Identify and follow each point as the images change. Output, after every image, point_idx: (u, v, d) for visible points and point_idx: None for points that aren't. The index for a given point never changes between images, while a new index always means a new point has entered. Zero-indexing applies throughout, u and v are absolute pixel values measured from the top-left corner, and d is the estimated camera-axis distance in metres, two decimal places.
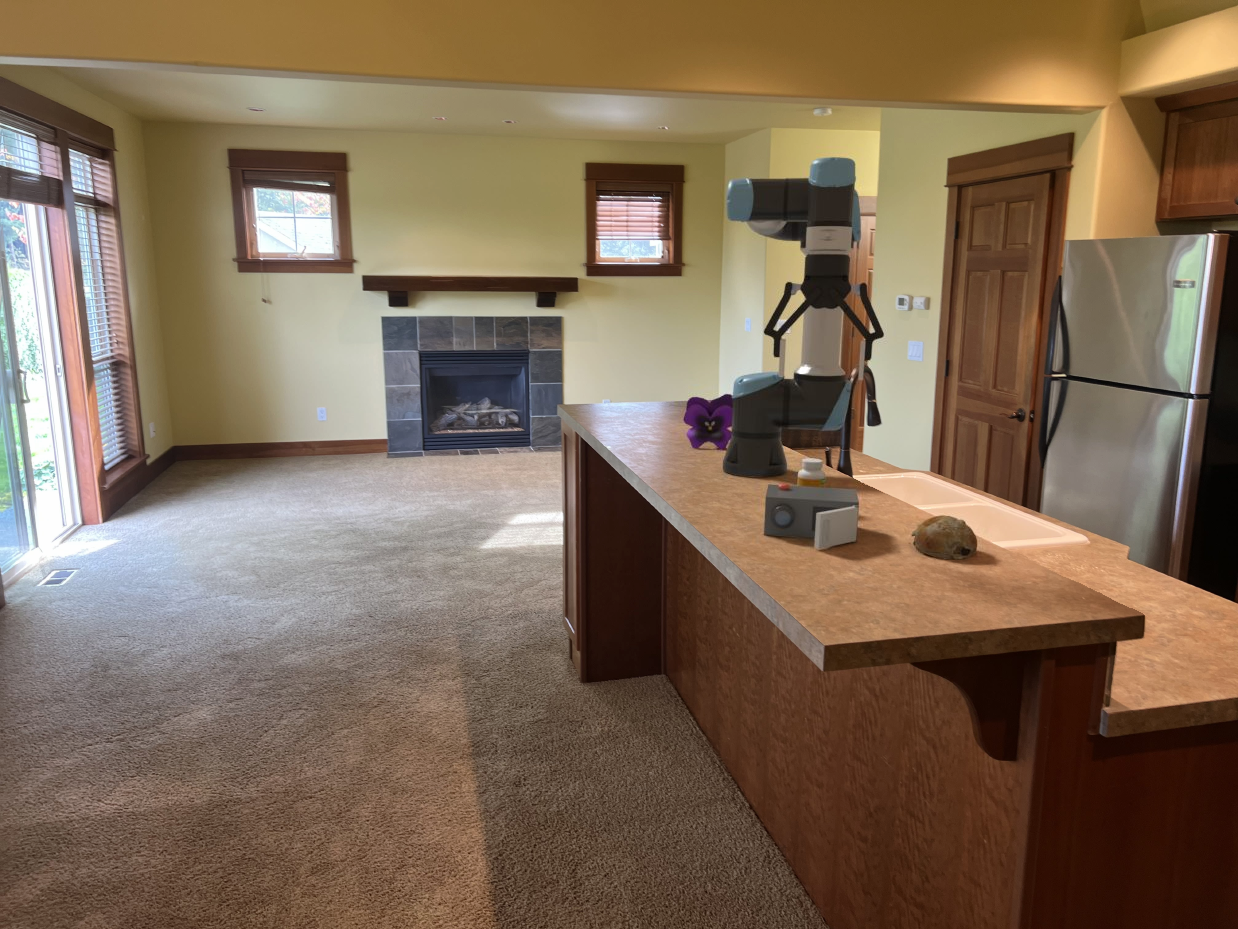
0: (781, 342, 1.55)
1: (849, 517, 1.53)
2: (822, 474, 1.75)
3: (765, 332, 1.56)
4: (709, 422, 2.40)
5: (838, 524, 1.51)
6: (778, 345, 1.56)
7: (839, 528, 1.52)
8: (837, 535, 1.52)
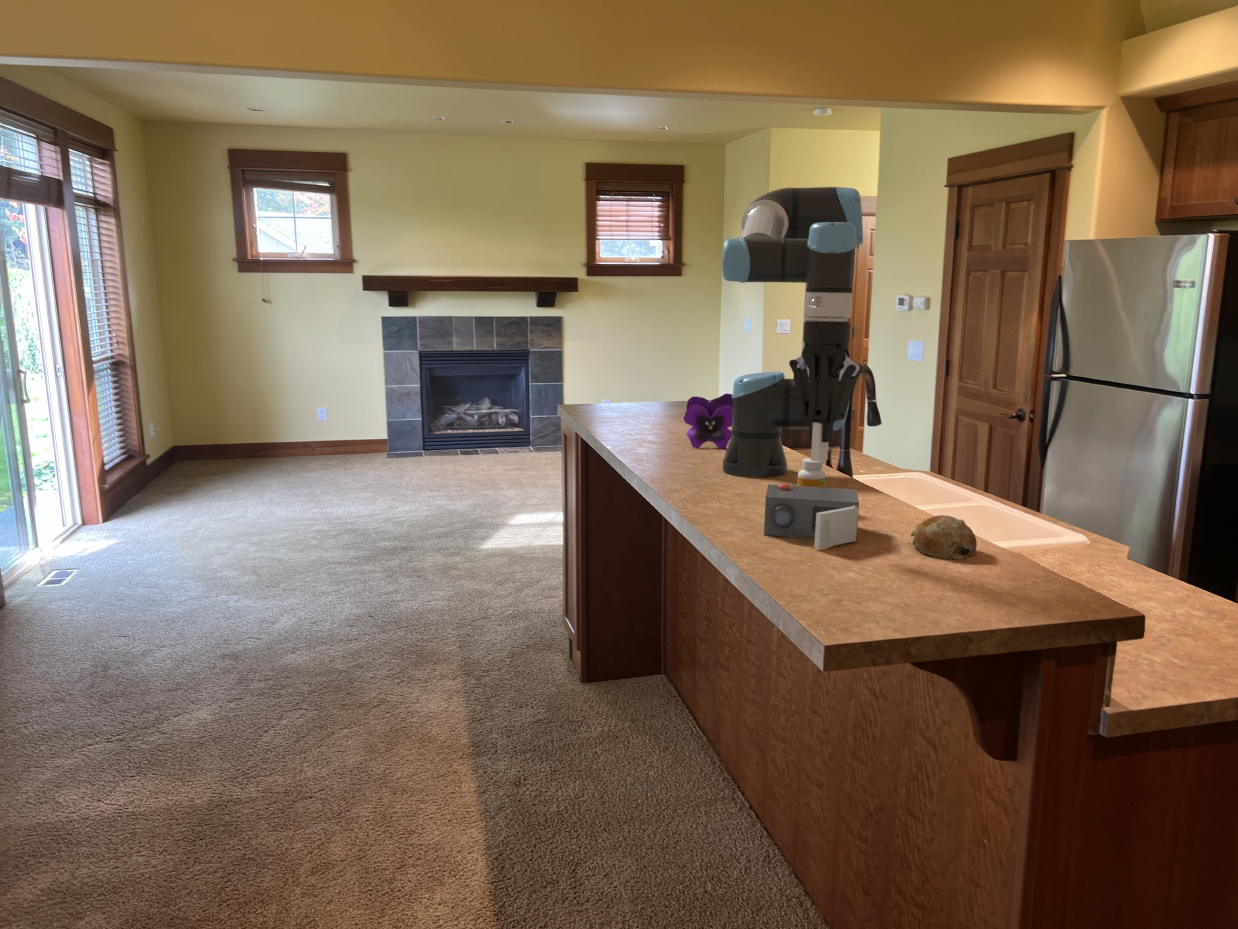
0: (813, 425, 1.49)
1: (849, 517, 1.53)
2: (822, 474, 1.75)
3: (801, 414, 1.51)
4: (709, 422, 2.41)
5: (838, 524, 1.51)
6: (813, 428, 1.50)
7: (839, 528, 1.52)
8: (837, 535, 1.52)
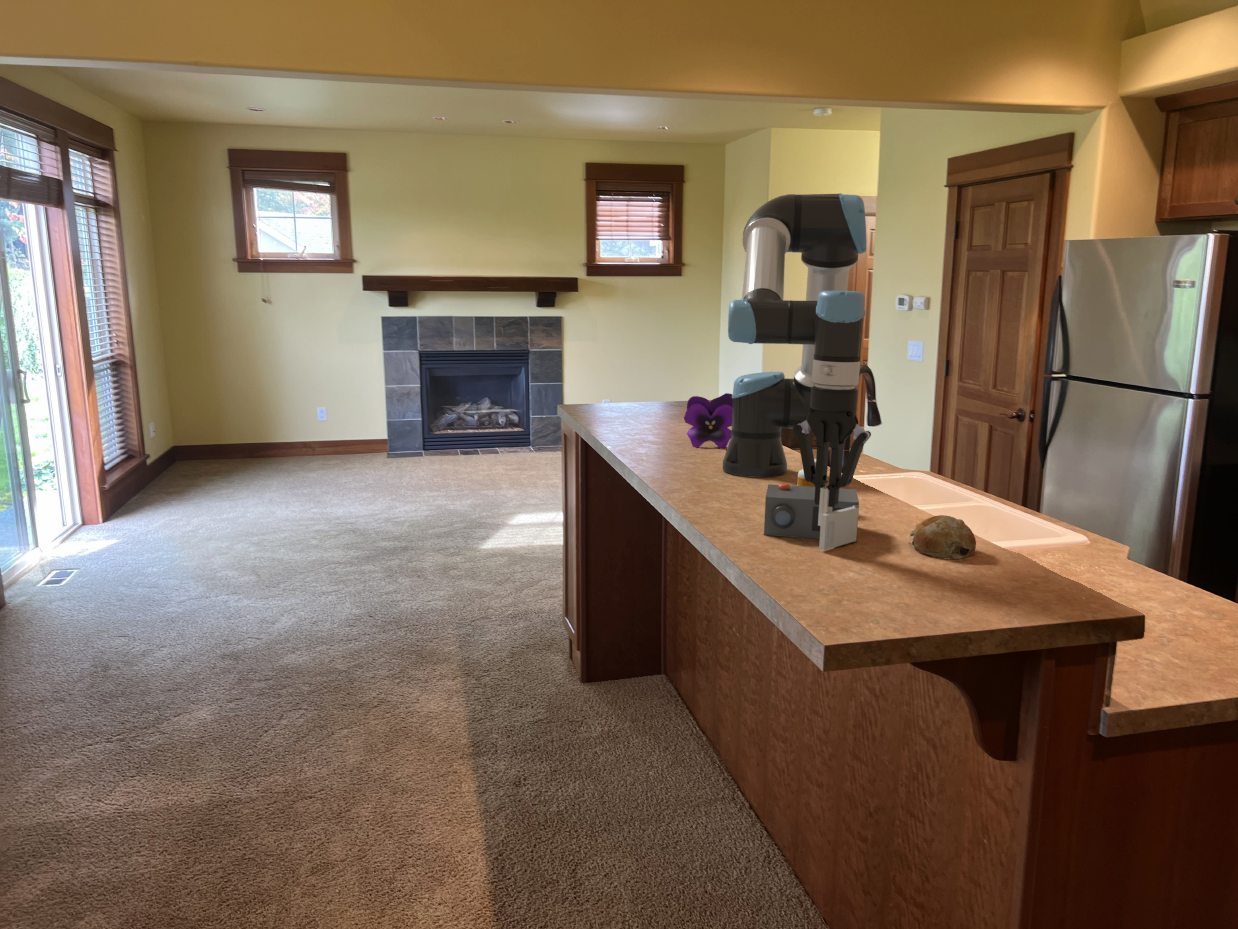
0: (821, 491, 1.49)
1: (850, 517, 1.52)
2: None
3: (807, 479, 1.50)
4: (709, 421, 2.42)
5: (841, 525, 1.51)
6: (819, 493, 1.50)
7: (842, 529, 1.51)
8: (840, 536, 1.51)
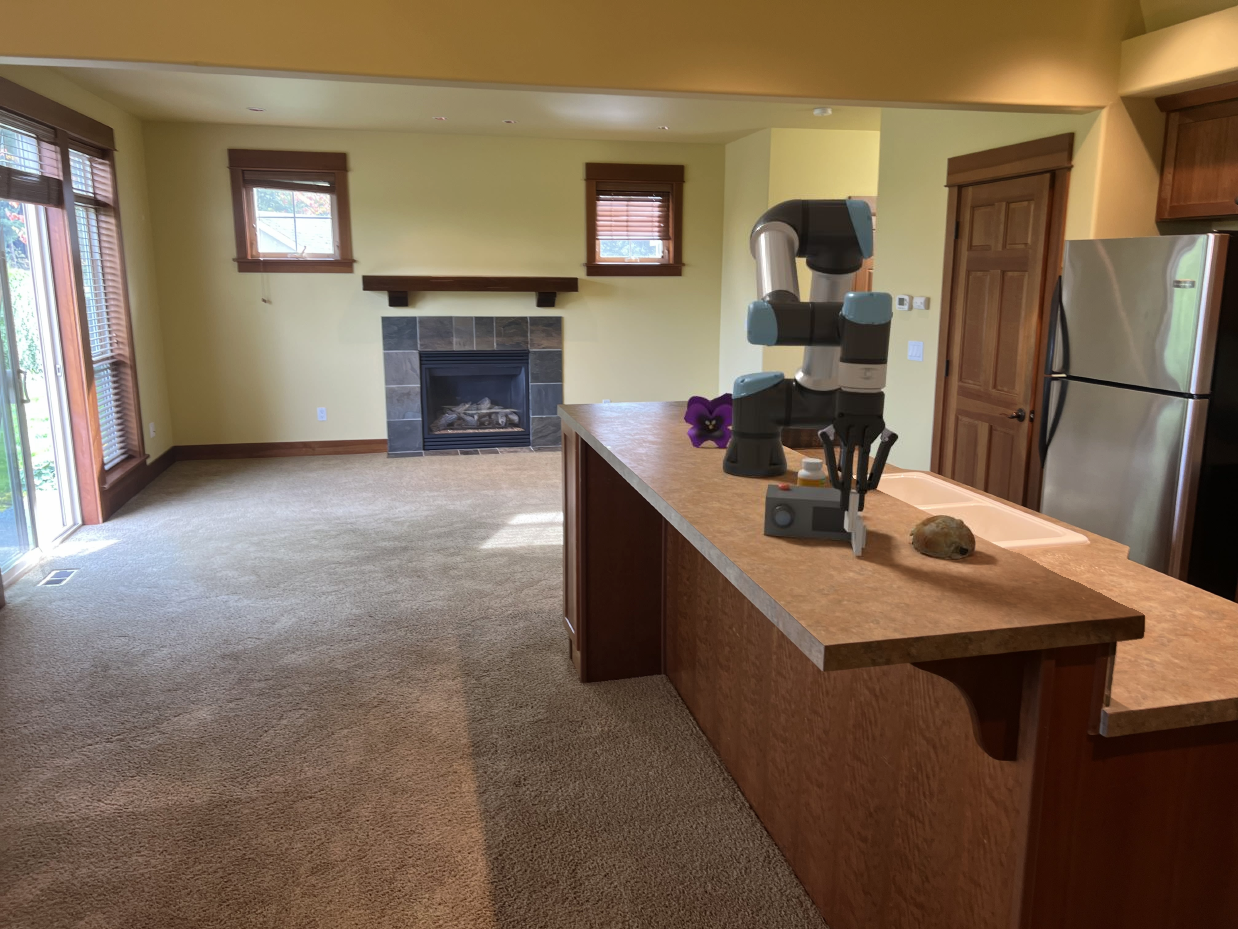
0: (851, 496, 1.46)
1: None
2: (822, 474, 1.75)
3: (835, 487, 1.45)
4: (710, 421, 2.42)
5: None
6: (847, 499, 1.46)
7: None
8: None
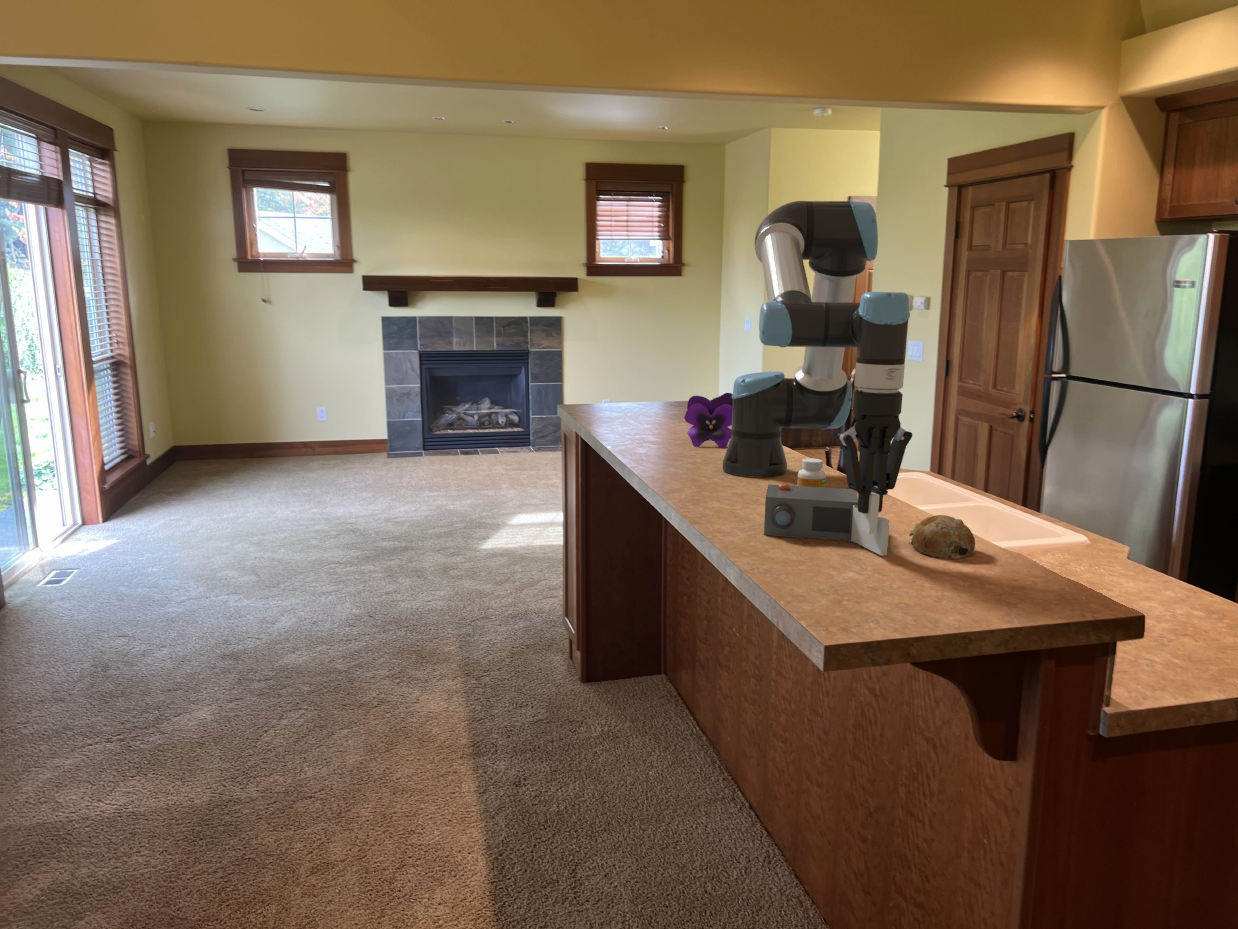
0: (872, 498, 1.45)
1: None
2: (822, 474, 1.75)
3: (858, 490, 1.44)
4: (710, 421, 2.43)
5: None
6: (867, 501, 1.45)
7: None
8: None
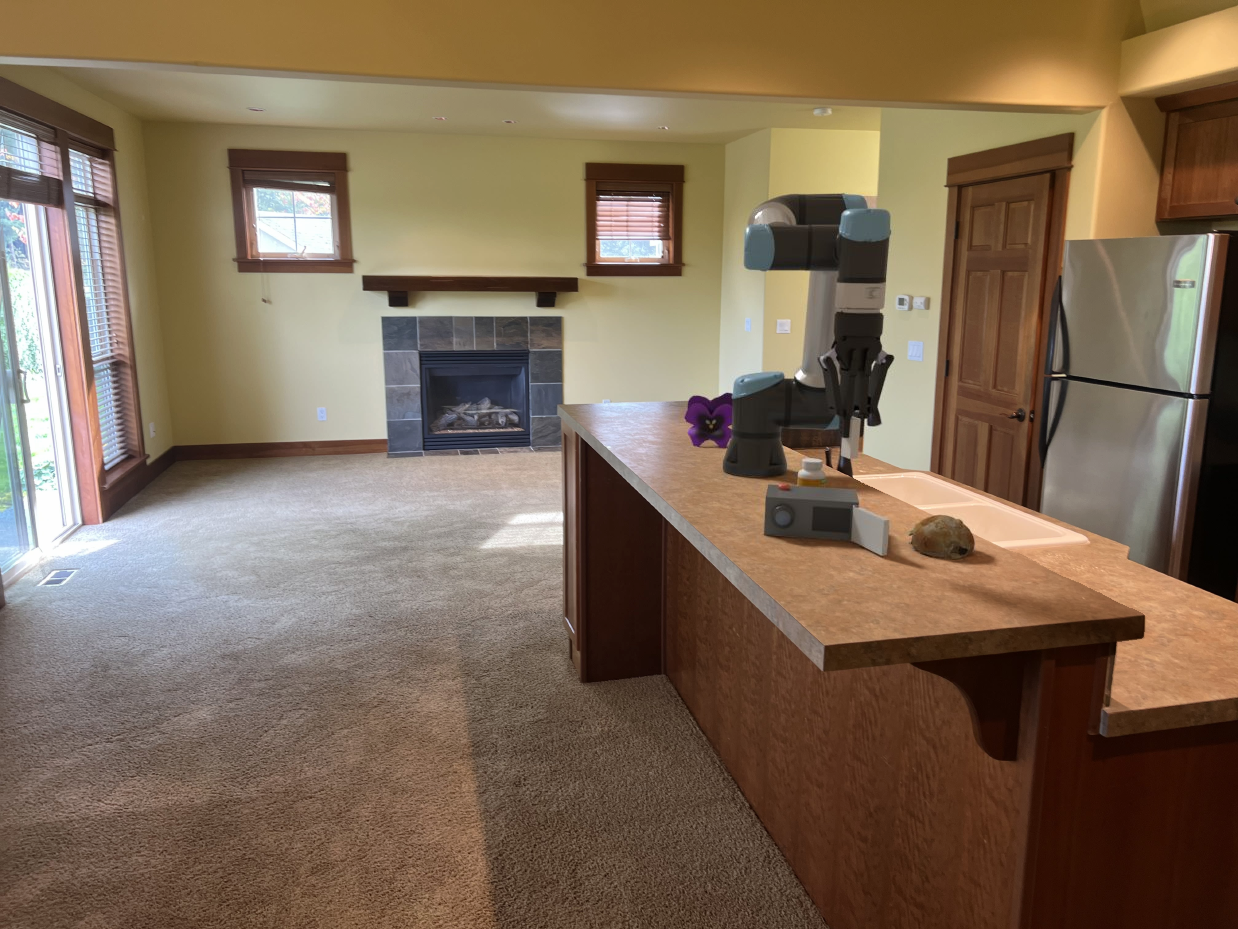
0: (853, 422, 1.43)
1: None
2: (822, 474, 1.75)
3: (839, 413, 1.42)
4: (710, 420, 2.43)
5: None
6: (848, 425, 1.43)
7: None
8: None
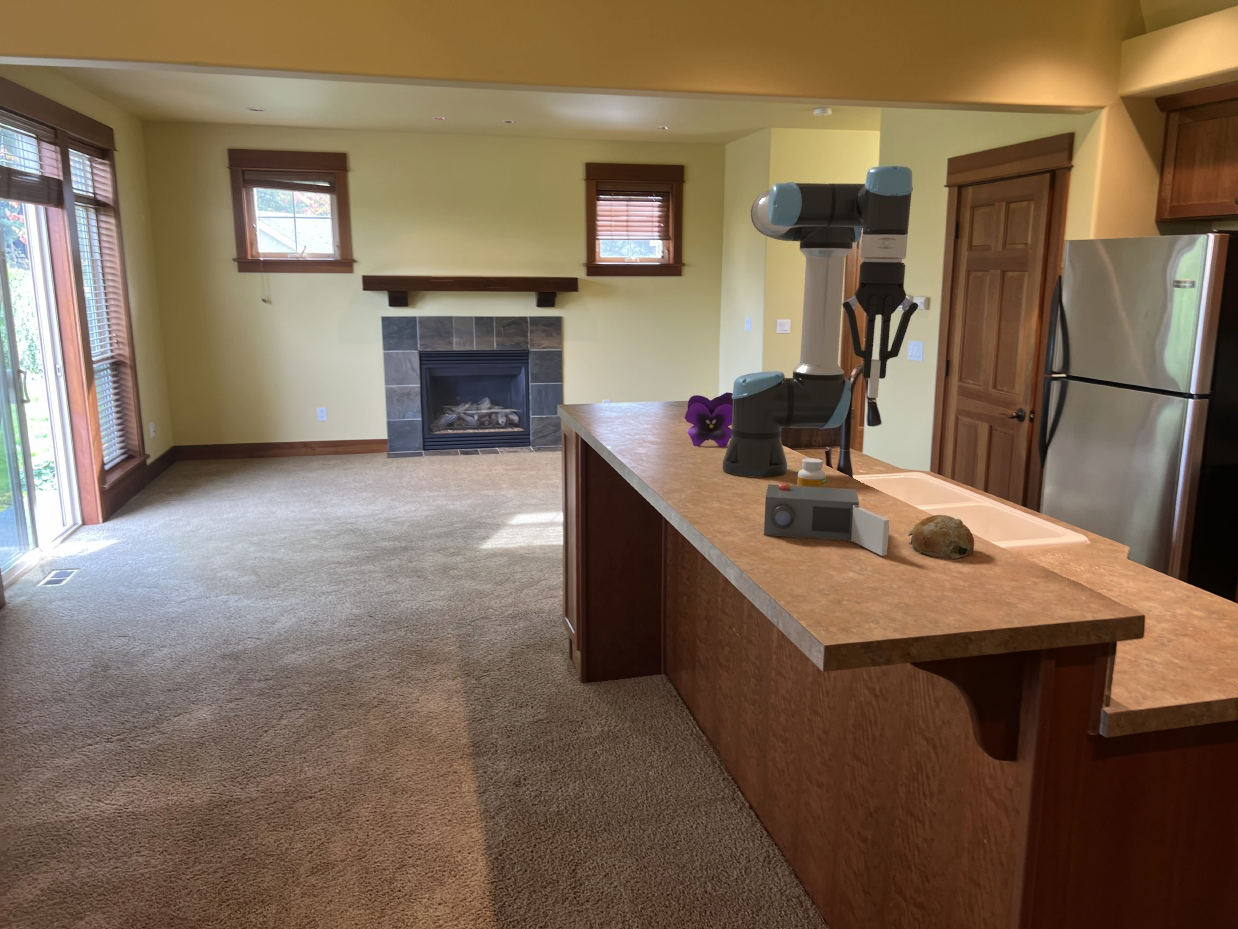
0: (872, 363, 1.56)
1: None
2: (822, 474, 1.75)
3: (857, 354, 1.56)
4: (710, 420, 2.43)
5: None
6: (869, 366, 1.57)
7: None
8: None
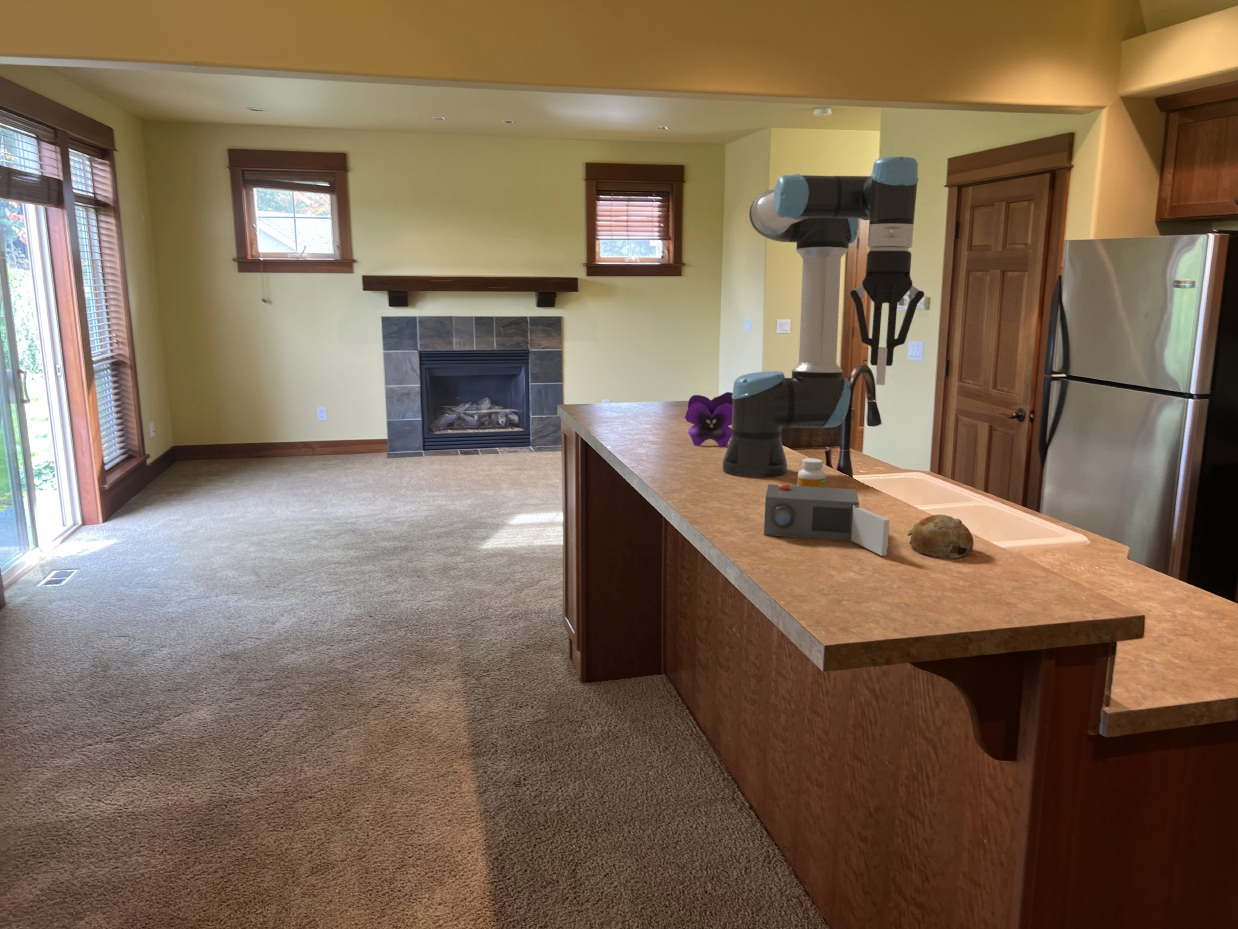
0: (879, 350, 1.59)
1: None
2: (822, 474, 1.75)
3: (864, 342, 1.59)
4: (710, 420, 2.44)
5: None
6: (876, 353, 1.60)
7: None
8: None
